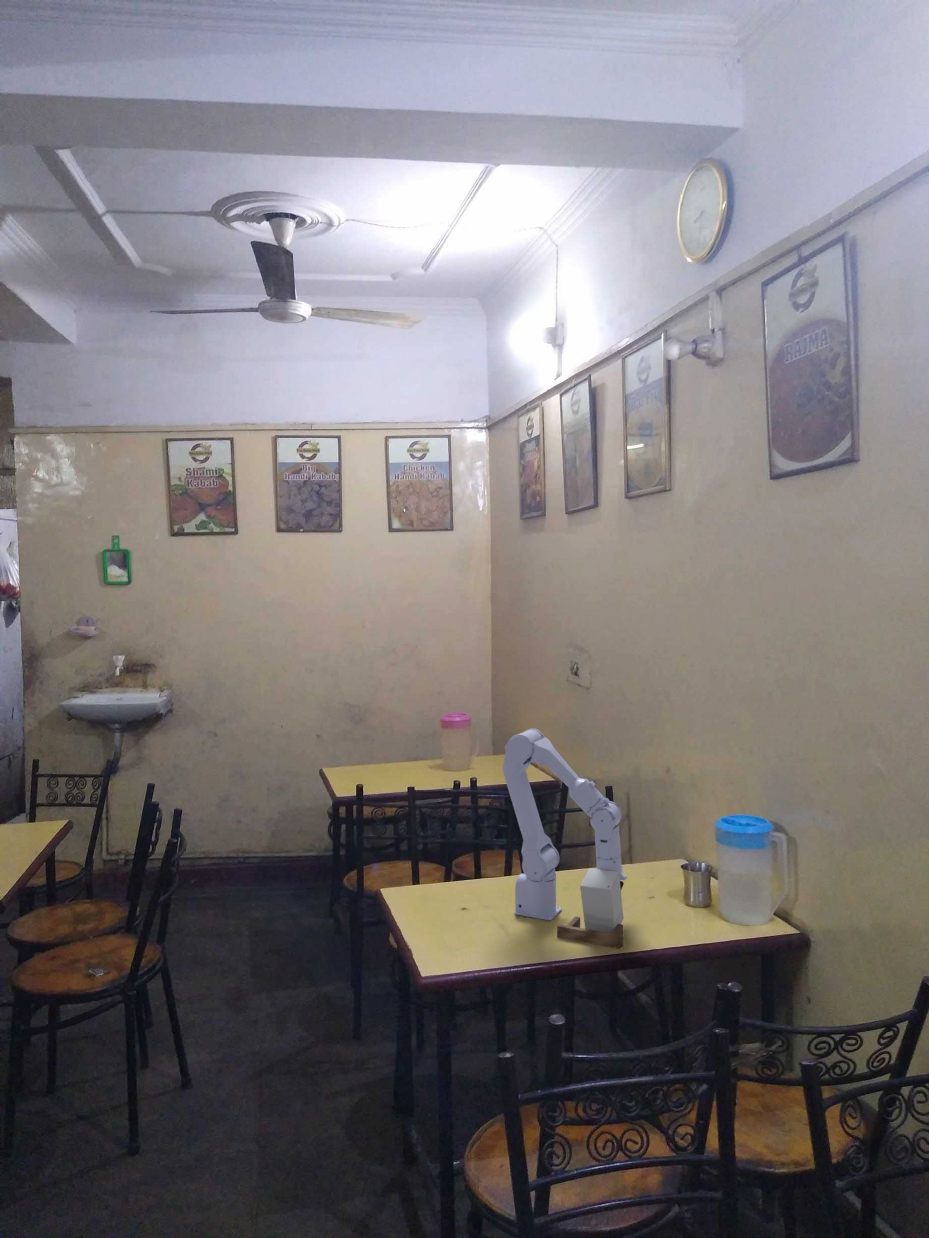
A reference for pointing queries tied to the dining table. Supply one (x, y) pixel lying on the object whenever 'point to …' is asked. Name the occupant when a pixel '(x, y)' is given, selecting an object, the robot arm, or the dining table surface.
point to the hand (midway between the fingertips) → (611, 913)
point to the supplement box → (601, 900)
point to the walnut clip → (591, 934)
